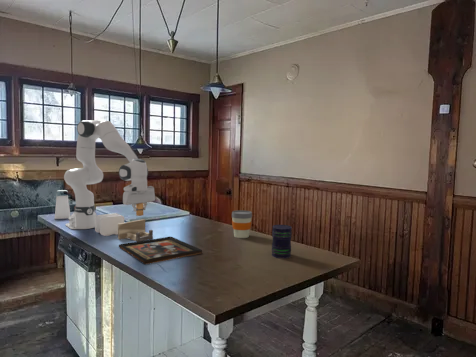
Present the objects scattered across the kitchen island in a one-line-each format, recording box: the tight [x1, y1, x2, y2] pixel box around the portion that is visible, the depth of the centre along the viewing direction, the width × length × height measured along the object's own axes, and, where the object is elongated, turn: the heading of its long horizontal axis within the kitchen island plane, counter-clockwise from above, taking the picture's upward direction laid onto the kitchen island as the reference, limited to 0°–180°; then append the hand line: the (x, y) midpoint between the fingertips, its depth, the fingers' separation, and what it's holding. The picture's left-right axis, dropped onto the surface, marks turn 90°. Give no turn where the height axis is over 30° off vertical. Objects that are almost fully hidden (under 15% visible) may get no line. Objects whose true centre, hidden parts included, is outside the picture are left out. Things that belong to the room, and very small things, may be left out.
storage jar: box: [271, 224, 293, 259], centre depth 182 cm, size 10×10×15 cm
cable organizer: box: [94, 213, 125, 237], centre depth 220 cm, size 15×11×12 cm
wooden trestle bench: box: [117, 218, 154, 242], centre depth 210 cm, size 14×18×9 cm
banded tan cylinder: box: [135, 203, 145, 217], centre depth 208 cm, size 4×4×7 cm
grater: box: [54, 189, 72, 220], centre depth 265 cm, size 10×10×20 cm
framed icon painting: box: [118, 236, 203, 265], centre depth 188 cm, size 38×35×3 cm
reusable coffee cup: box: [231, 209, 253, 239], centre depth 219 cm, size 13×13×15 cm
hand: (139, 210), depth 208 cm, fingers closed on banded tan cylinder, 4 cm apart
